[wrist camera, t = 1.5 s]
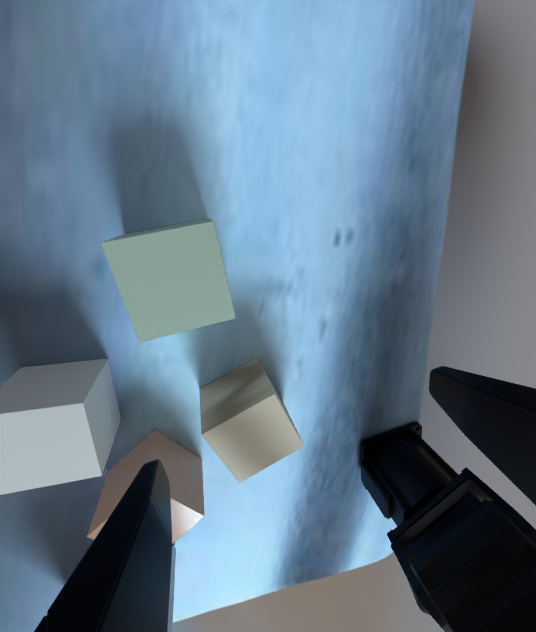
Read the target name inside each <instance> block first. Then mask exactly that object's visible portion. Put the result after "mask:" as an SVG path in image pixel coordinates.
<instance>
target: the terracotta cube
mask: <svg viewBox="0 0 536 632" xmlns="http://www.w3.org/2000/svg"><path fill="white" fill-rule="evenodd" d="M155 459H159V460H160V461H161V462H162V465H163V467H164V469H165V471H166V474H167V476H168V479H169V483H170V498H171V521H172V544H173V543H174V542H175V541H176V540H177V539H179V538H180V537H181V536H182V535H183V534H184V533H186V532H187V531H188V530H189V529H190V528H191V527H192V526H194V525H195V524H196V523H197V522H198V521H199V520H201V519H202V518H203V517H204V496H203V474H202V459H201V458H199V457H198V456H196V455H195V454H193V453H192V452H190V451H188V450H187V449H185V448H184V447H182V446H181V445H179V444H178V443H176V442H174V441H173V440H171V439H170V438H168V437H167V436H165V435H164V434H162V433H161V432H159V431H157V430H156V429H154V430H153V431H152V432H151V433H150V434H149V435H148V436H146V437H145V438H144V439H143V440H142V441H141V442H140V443H139V444H137V445H136V446H135V447H134V448H133V449H132V450H131V451H130V452H129V453H127V454H126V455H125V456H124V457H123V458H122V459H121V460H120V461H118V462H117V463H116V464H115V465H114V466H113V467H112V468H111V469H110V470H108V472H107V475H106V478H105V481H104V485H103V488H102V491H101V494H100V497H99V500H98V503H97V506H96V510H95V513H94V516H93V519H92V522H91V525H90V528H89V531H88V535H87V537H88V538H91V539H93V540H94V539H95V538H96V536H97V535H98V533H99V532H100V530H101V529H102V527H103V525H104V524H105V522H106V521H107V519H108V518H109V516H110V515H111V513H112V512H113V510H114V509H115V507H116V505H117V504H118V502H119V501H120V499H121V498H122V496H123V495H124V493H125V492H126V490H127V489H128V487H129V486H130V484H131V482H132V481H133V479H134V478H135V476H136V475H137V473H138V472H139V470H140V469H141V467H142V466H143V465H144V464H145V463H146V462H149V461H152V460H155Z"/></svg>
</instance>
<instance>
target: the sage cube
mask: <svg viewBox="0 0 536 632" xmlns="http://www.w3.org/2000/svg"><path fill="white" fill-rule="evenodd" d="M101 245H102V248H103V250H104V253H105V255H106V258H107V261H108V263H109V266H110V268H111V271H112V274H113V276H114V279H115V281H116V284H117V287H118V289H119V292H120V294H121V297H122V300H123V302H124V305H125V307H126V310H127V313H128V315H129V318H130V320H131V323H132V326H133V328H134V331H135V333H136V336H137V339H138V341H139V343H140V342H144V341H148V340H152V339H156V338H160V337H164V336H168V335H172V334H176V333H180V332H184V331H188V330H192V329H196V328H200V327H204V326H208V325H212V324H216V323H220V322H224V321H228V320H232V319H236V317H235V313H234V308H233V304H232V300H231V295H230V291H229V287H228V282H227V278H226V274H225V269H224V265H223V261H222V256H221V252H220V248H219V243H218V239H217V235H216V230H215V226H214V222H213V221H212V220H210V219H203V220H197V221H192V222H187V223H182V224H176V225H171V226H166V227H160V228H155V229H150V230H145V231H139V232H134V233H129V234H124V235H121V236H118V237H116V238H113V239H110V240H107V241H104V242H102V243H101Z"/></svg>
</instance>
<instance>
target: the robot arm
mask: <svg viewBox="0 0 536 632" xmlns="http://www.w3.org/2000/svg"><path fill="white" fill-rule="evenodd" d="M429 382H430V383H429V391H430V394H431V396H432V397H433V398H434V399H435V400H436V402H437V403H438V404H439V405H440V407H442V409H443V410H444V411H445V412H446V413H447V415H448V416H449V417H450V418H451V419H452V421H453V422H454V423H455V424H456V425H457V427H458V428H459V429H460V430H461V431H462V432H463V433H464V434H465V436H466V437H467V438H468V439H469V440H470V441H471V442H472V443H473V444H474V445H475V446H476V447H477V448H478V449H479V450H480V451H481V452H482V453H483V454H484V455H485V456H486V457H487V458H488V459H489V460H491V462H493V464H495V466H497V467H498V468H499V470H500V471H502V472H503V473H504V474H505V475H506V476H507V477H508V478H509V479H510V480H511V481H512V482H513V483H514V484H515V485H516V486H517V487H518V488H519V489H520V490H521V491H522V492H523V493H524V494H525V495H526V496H527V497H528V498H529V499H530V500H531V501H532V502H533V503H534V504H535V505H536V389H535V388H531V387H526V386H522V385H518V384H514V383H510V382H506V381H502V380H498V379H493V378H490V377H486V376H482V375H477V374H473V373H469V372H465V371H461V370H457V369H453V368H448V367H445V366H444V367H443V366H441V367H438V368H435V369H432V370H431V372H430V381H429ZM421 437H422V426H421V425H420V424H419V423H418V422H414V423H411V424H408V425H405V426H402V427H400V428H397V429H394V430H391V431H388V432H385V433H383V434H380V435H377V436H374V437H371V438H368V439H365V440H363V441H362V443H361V458H362V461H361V464H360V465H361V480H362V482H363V485H364V487H365V489H367V490H368V492H369V493H370V495H371V496H372V498H373V499H374V501H375V503H376V504H377V506H378V507H379V509H380V510H381V512H382V514H383V515H384V517H386V518H387V519H389V518H392V519H393V521H394V522H395V524H396V525H397V527H396V528H395V529H394V530H391V531H390V532H388V533H387V536H388V538H389V540H390V542H391V543H392V544H391V548H392V550H393V551H394V553H395V555H396V557H397V559H398V561H399V562H400V565H401V566H402V569H403V571H404V573H405V575H406V577H407V579H408V581H409V584H410V587H411V589H412V592H413V594H414V597H415V600H416V602H417V604H418V606H419V608H420V609H421V610H422V612H424V613H426V614H429V615H431V616H432V617H433V619H435V621H436V622H437V623H438V624H439V625H440V627H441V628H442V629H443V630H444V631H445V632H536V529H534V528H533V527H532V526H531V525H530V524H529V523H528V522H527V521H526V520H525V519H524V518H523V517H522V516H521V515H520V514H519V513H518V512H517V511H516V510H514V509H513V508H512V507H511V506H510V505H509V504H508V503H507V502H505V501H504V500H503V499H502V498H501V497H500V496H499V495H498V494H496V493H495V492H494V491H493V490H492V489H491V488H489V487H488V486H487V485H486V484H485V483H484V482H483V481H481V480H480V479H479V478H478V477H477V476H476V475H474V474H473V473H472V472H471V471H470V470H469V469H468V468H464V469H463V470H462V471H461V472H462V473H461V474H460V475H458V474H457V473H456V472H455V471H454V470H453V469H452V468H451V467H450V466H449V465H448V464H447V463H446V462H445V461H444V460H443V459H442V458H441V457H440V456H439V455H438V454H437V453H436V452H435V451H434V450H433V449H432V448H431V447H430V446H429V445H428V444H427V443H426V442H425V441H424V440H423V439H422V438H421ZM171 563H172V521H171V498H170V483H169V479H168V476H167V474H166V471H165V469H164V467H163V465H162V462H161V461H160V460H159V459H155V460H152V461H149V462H146V463H145V464H144V465H143V466H142V467H141V469H140V470H139V472H138V473H137V475H136V476H135V478H134V479H133V481H132V482H131V484H130V486H129V487H128V489H127V490H126V492H125V493H124V495H123V496H122V498H121V499H120V501H119V502H118V504H117V505H116V507H115V509H114V510H113V512H112V513H111V515H110V516H109V518H108V519H107V521H106V522H105V524H104V525H103V527H102V529H101V530H100V532H99V533H98V535H97V536H96V538H95V539H94V541H93V542H92V544H91V545H90V547H89V548H88V550H87V552H86V553H85V555H84V556H83V558H82V559H81V561H80V562H79V564H78V565H77V567H76V568H75V570H74V571H73V573H72V575H71V576H70V578H69V579H68V581H67V582H66V584H65V585H64V587H63V588H62V590H61V591H60V593H59V594H58V596H57V598H56V599H55V601H54V602H53V604H52V605H51V607H50V608H49V610H48V612H47V615H48V616H44V617H43V619H42V620H41V622H40V623H39V625H38V626H37V628H36V630H35V631H34V632H167V629H168V613H169V596H170V580H171Z"/></svg>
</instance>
